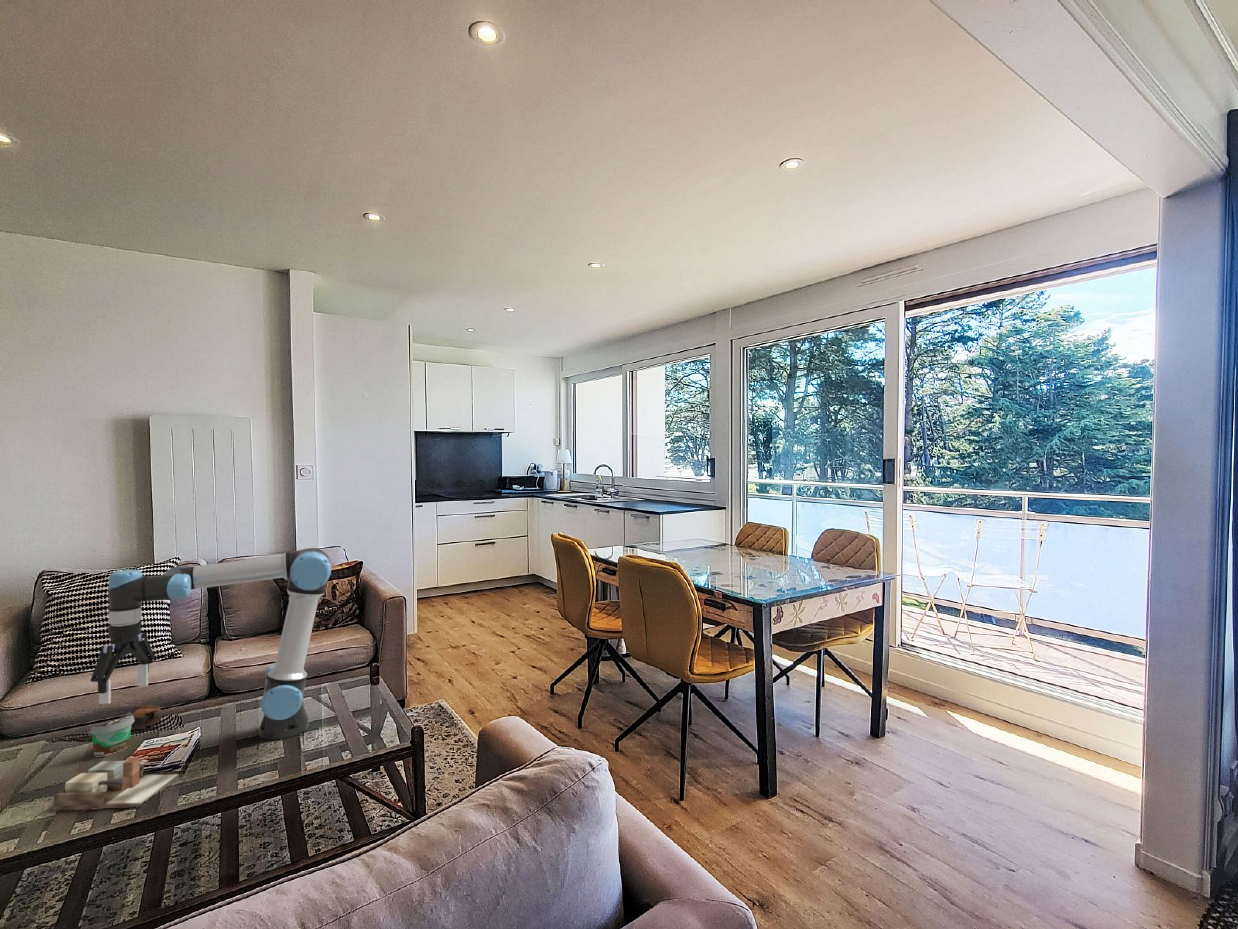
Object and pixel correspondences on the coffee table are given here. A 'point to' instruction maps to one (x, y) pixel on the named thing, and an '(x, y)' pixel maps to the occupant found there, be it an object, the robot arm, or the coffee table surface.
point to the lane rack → (114, 790)
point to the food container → (112, 735)
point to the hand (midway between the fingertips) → (124, 694)
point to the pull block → (105, 779)
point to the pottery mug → (142, 712)
